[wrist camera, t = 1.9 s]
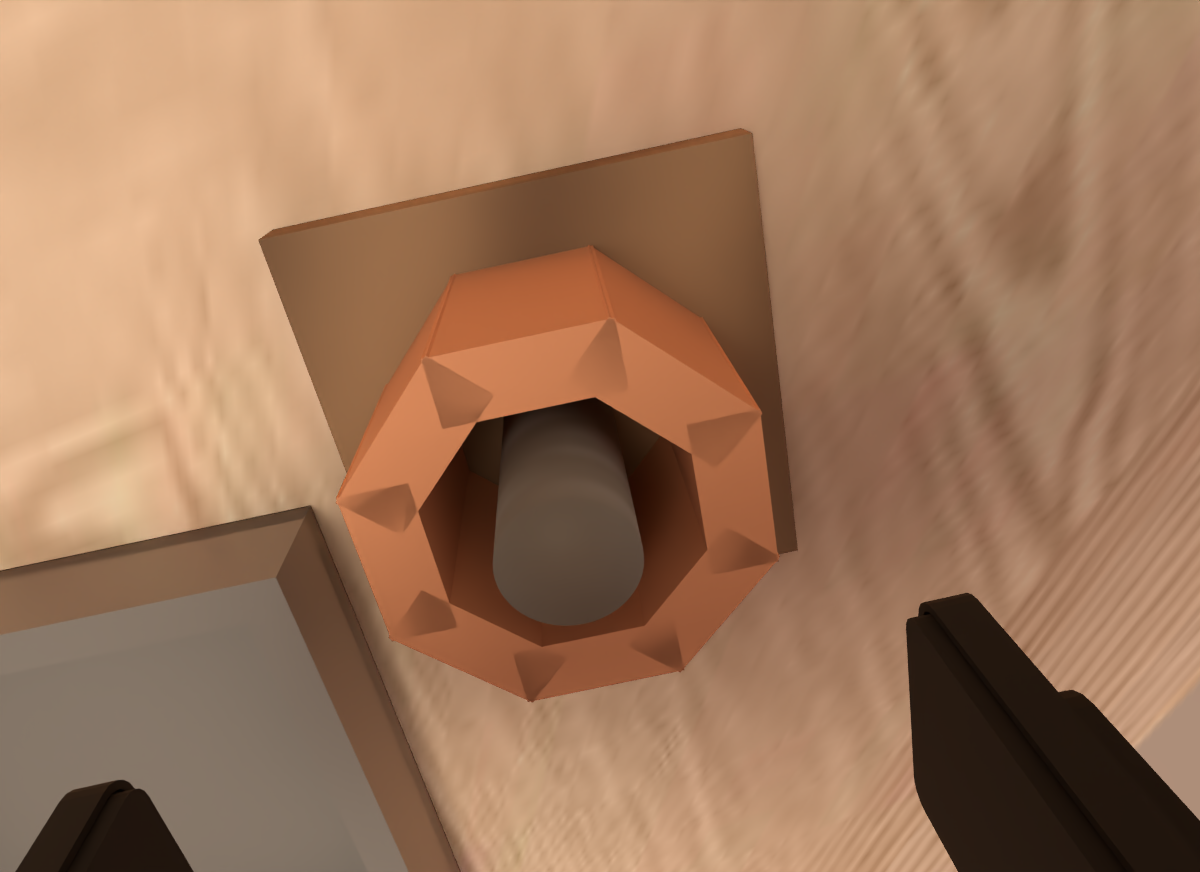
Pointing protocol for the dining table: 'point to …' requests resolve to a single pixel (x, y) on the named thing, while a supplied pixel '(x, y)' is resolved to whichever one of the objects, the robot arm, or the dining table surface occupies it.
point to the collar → (469, 502)
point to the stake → (567, 431)
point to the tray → (210, 703)
